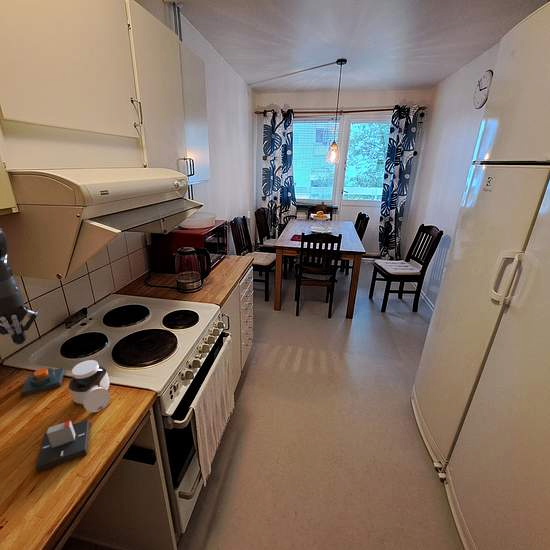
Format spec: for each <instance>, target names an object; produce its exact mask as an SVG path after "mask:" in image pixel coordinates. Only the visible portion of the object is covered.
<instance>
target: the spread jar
mask: <svg viewBox="0 0 550 550" xmlns="http://www.w3.org/2000/svg"><path fill="white" fill-rule="evenodd" d="M71 374H72V377H71V379H70V380H69V384H68V390H69V393H70V396H71V399H72V400H73V402H74V403H76V404H78V405H82V406H83V408H84V409H85V410H86V411H88V412H89V413H98V412H100V411H102V410H103V409H105V408H106V407H107V406H108V405H109V402H110V400H111V399H110V398H111V395H110V392H109V388H110V378H109V375H108V371H107V369H106V368H104V367H103V366H100V365H99V363H98V361H97V360H94V359H89V360H84V361H81V362H79V363H77V364H75V365H74V366H73V368H72V369H71Z"/></svg>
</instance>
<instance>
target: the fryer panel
mask: <svg viewBox="0 0 550 550" xmlns="http://www.w3.org/2000/svg"><path fill="white" fill-rule="evenodd" d="M72 426H73V428H74V431H75V440H74V441H71V442H68V443H65V444H62V445H59V446H56V447H53V448H52V446H51V443H50V441H49V438H48V436H47V432H44V434H43V438H42V442H41V446H40V449H39V454H38V458H37V461H36V465H35V469H36V470H37V472H38V473H42V472H43V471H47V470H49V469H51V468H54V467H58V466H60V465H63V464H65V463H69V462H71V461H74V460H77V459H79V458H82V457H85V456H86V455H88V448H89V437H90V428H91V427H90V426H91V424H90V421H89V419H85V420H82V421H79V422H76V423H72Z"/></svg>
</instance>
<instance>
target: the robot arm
mask: <svg viewBox="0 0 550 550" xmlns="http://www.w3.org/2000/svg"><path fill="white" fill-rule="evenodd" d="M8 251H9V250H8V242H7V237H6V234H5V232H4V231H3V228H1V227H0V335H1V336H5V335H9V336H10V337H11V340H12V342H13V344H16V346H18V345H23V344H24V343H25V342H26V340H27V335H26V333H25V332H26V331H27V332H28V331H29V329H30V327H31V326H32V325H33V323H34V322H35V320H36V319H37V317H38V315H39V311H38V310H34V311H33V310H29V307H28V306H26V304H25V301H24V298H23V295H22V293H21V290H20V289H21V288H20V286H19V283H18V281H17V279H16V277H15V275H14V272H13V269H12V267H11V264H10V261H9V252H8ZM26 316H27V319H28V321H27V322H26V323H25V324H23V323H24V319H25V317H26Z"/></svg>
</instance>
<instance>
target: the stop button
mask: <svg viewBox="0 0 550 550" xmlns="http://www.w3.org/2000/svg"><path fill="white" fill-rule="evenodd" d="M47 368H48V367H42V368H38V369H36V370H35V371H34V372H33V373H34V377H35V379H37V380H38V379H42V378H44V377H46V376H47V375H48V374H49V373H48V370H47Z"/></svg>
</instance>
